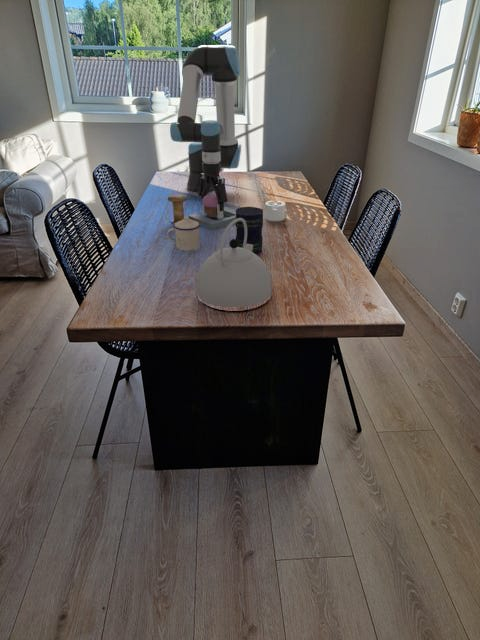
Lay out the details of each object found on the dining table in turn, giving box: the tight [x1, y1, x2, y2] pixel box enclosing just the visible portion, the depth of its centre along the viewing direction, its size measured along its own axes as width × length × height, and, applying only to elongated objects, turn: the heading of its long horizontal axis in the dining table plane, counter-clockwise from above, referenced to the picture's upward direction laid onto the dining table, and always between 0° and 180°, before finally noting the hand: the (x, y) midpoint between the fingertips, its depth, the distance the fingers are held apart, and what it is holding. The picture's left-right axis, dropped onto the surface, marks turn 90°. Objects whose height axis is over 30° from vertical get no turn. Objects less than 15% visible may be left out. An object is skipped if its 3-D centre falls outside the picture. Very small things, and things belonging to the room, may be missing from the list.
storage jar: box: [234, 206, 264, 256], centre depth 159 cm, size 10×10×15 cm
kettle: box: [196, 218, 272, 307], centre depth 130 cm, size 25×23×22 cm
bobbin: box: [167, 193, 188, 224], centre depth 187 cm, size 8×8×11 cm
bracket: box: [264, 200, 286, 222], centre depth 199 cm, size 20×9×7 cm, turn 174°
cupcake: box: [201, 193, 218, 219], centre depth 192 cm, size 9×9×10 cm
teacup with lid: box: [166, 215, 201, 251], centre depth 163 cm, size 12×9×12 cm
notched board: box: [187, 206, 236, 231], centre depth 192 cm, size 16×20×2 cm
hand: (213, 215), depth 194 cm, fingers closed on cupcake, 9 cm apart
